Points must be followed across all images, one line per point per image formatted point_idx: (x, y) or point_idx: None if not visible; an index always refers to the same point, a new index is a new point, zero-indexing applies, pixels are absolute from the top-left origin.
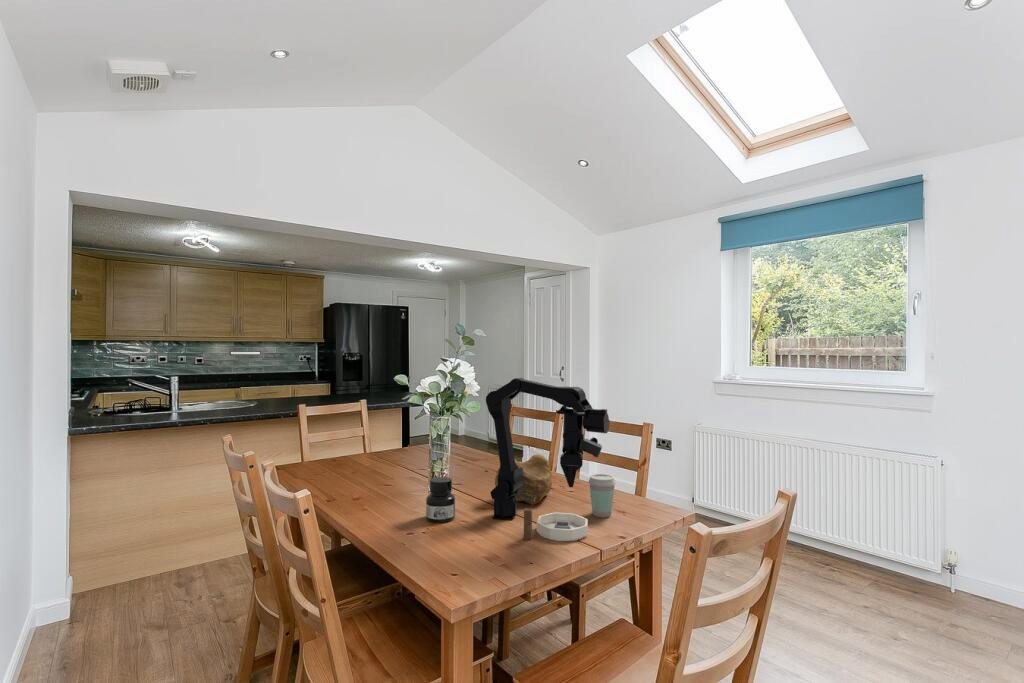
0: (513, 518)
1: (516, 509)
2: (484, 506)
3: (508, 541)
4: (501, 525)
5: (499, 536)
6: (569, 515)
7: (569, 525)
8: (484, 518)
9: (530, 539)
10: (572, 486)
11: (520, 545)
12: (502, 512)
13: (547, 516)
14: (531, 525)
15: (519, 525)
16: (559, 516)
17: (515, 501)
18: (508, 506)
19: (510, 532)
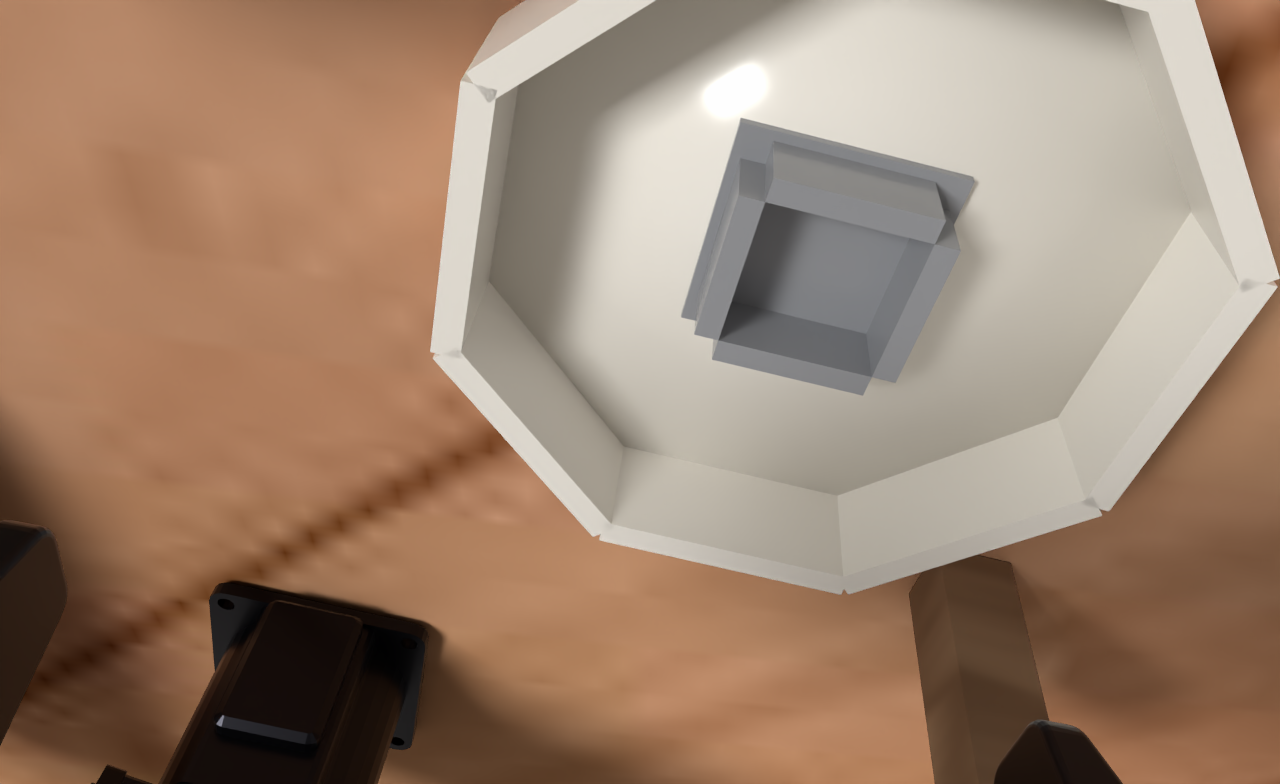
0: (394, 620)
1: (283, 647)
2: (89, 745)
3: None
4: (577, 701)
5: (853, 737)
6: (492, 148)
7: (903, 211)
8: (407, 771)
9: (1008, 570)
10: (1088, 755)
11: (1119, 645)
12: (391, 738)
13: (551, 438)
14: (1002, 674)
15: (572, 591)
16: (480, 275)
17: (258, 736)
18: (359, 758)
19: (764, 668)
